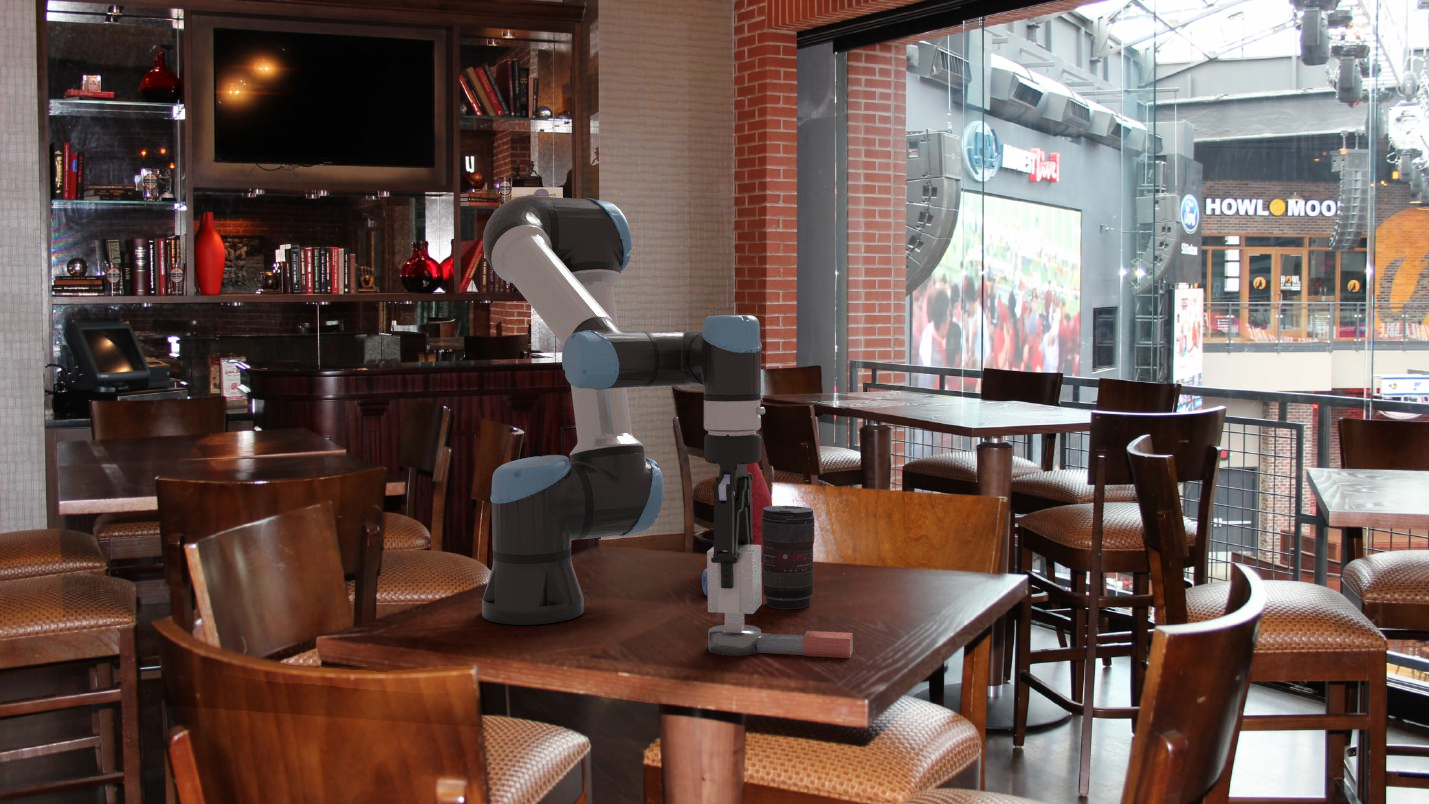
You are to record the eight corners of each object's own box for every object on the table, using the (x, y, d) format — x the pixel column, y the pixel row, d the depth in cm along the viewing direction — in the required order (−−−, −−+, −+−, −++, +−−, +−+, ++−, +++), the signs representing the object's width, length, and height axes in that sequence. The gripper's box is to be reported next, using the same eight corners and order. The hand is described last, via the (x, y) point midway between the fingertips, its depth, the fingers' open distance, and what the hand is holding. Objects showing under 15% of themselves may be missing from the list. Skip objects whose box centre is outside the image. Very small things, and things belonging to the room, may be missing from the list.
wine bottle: (718, 567, 220) (716, 399, 218) (773, 566, 220) (772, 399, 218) (716, 578, 210) (714, 403, 208) (773, 577, 210) (772, 402, 208)
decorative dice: (725, 590, 200) (725, 566, 200) (732, 596, 196) (731, 571, 196) (701, 592, 199) (701, 568, 199) (707, 597, 195) (707, 572, 195)
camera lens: (811, 611, 184) (811, 512, 183) (758, 609, 186) (757, 511, 185) (817, 600, 192) (817, 505, 191) (766, 598, 194) (766, 504, 193)
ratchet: (702, 654, 160) (702, 609, 160) (715, 641, 167) (714, 597, 167) (847, 662, 156) (847, 615, 156) (854, 648, 163) (854, 603, 163)
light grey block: (708, 612, 160) (707, 551, 160) (718, 602, 166) (717, 543, 166) (752, 613, 159) (752, 552, 159) (761, 603, 165) (761, 544, 164)
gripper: (746, 439, 151) (747, 624, 153) (773, 427, 170) (775, 592, 171) (687, 438, 153) (689, 621, 154) (721, 426, 172) (722, 590, 173)
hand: (734, 606), depth 163 cm, fingers closed on light grey block, 6 cm apart
